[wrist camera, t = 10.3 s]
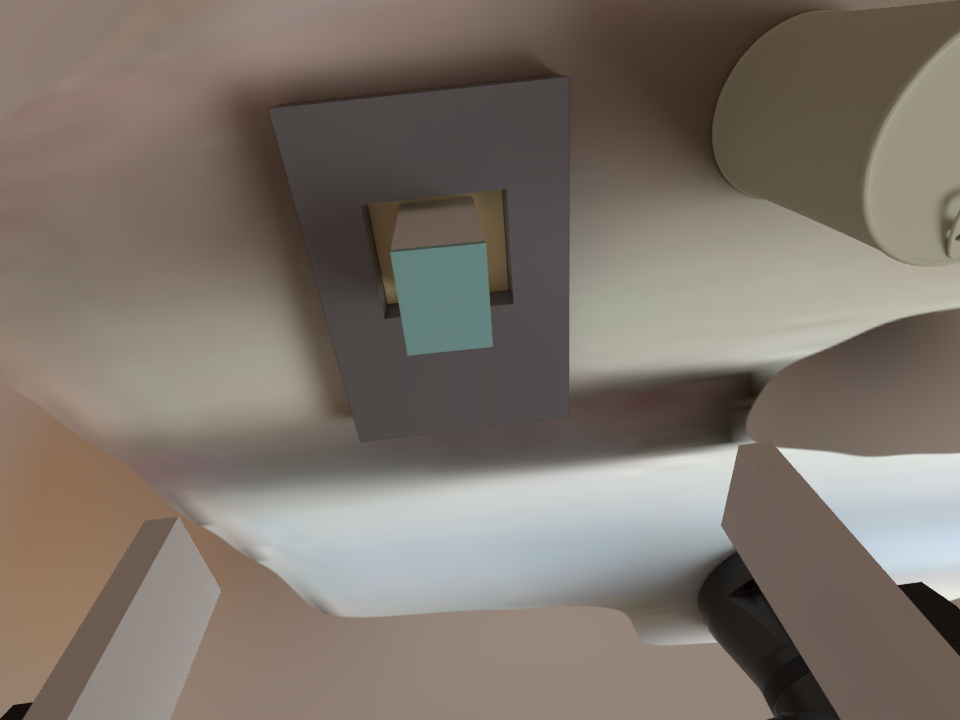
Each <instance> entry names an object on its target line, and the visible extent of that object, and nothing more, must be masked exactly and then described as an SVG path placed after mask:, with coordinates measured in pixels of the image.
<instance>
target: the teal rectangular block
mask: <svg viewBox="0 0 960 720" xmlns="http://www.w3.org/2000/svg"><path fill="white" fill-rule="evenodd" d="M390 255H391V260H392V266H393V272H394V278H395V284H396V290H397V296H398V302H399V308H400V314H401V319H402V325H403V331H404V337H405V343H406V349H407V355H408V356H409V355H419V354H428V353H438V352H448V351H457V350H467V349H477V348H486V347H493V340H492V325H491V310H490V295H489V280H488V266H487V251H486V241H485V238H484V235H483V231H482V228H481V224H480V221H479V217H478V214H477V210H476V207H475V204H474V200H473V197H467V198H456V199H446V200H435V201H424V202H414V203H403V204H400V207H399V211H398V216H397V221H396V226H395V231H394V236H393V241H392V246H391V251H390Z"/></svg>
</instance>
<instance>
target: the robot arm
mask: <svg viewBox="0 0 960 720" xmlns="http://www.w3.org/2000/svg"><path fill="white" fill-rule="evenodd" d="M721 526H722V528H723V529H724V531H725V532H726V534H727V536H728V537H729V539H730V541H731V542H732V544H733V545H734V547H735V549H736V550H737V552H738V553H737V554H736V555H734V556H732V557H731V558H729V559H728V560H727V561H725V562H724V563H723V564H722V565H720V566H719V567H718V568H717V569H716V570H715V571H714V572H713V573H712V574H711V575H710V576H709V578H708V579H707V580H706V582H705V583H704V585H703V587H702V589H701V591H700V594H699V599H698V605H699V610H700V612H701V614H702V617H703V619H704V621H705V623H706V625H707V627H708V629H709V631H710V632H711V634H712V635H713V637H714V638H715V639H716V641H717V642H718V643H719V644H720V645H721V646H722V647H723V648H724V649H725V650H726V652H727V653H728V654H729V655H730V656H731V657H732V658H733V659H734V661H735V662H736V663H737V664H739V666H740V667H741V668H742V669H743V671H744V672H745V673H746V674H747V675H748V676H749V677H750V678H751V679H752V681H753V682H754V683H755V684H756V685H757V686H758V687H759V689H760V690H761V692H762V694H763V696H764V697H765V699H766V702H767V703H768V705H769V707H770V709H771V711H772V713H773V715H774V718H771V719H768V720H960V609H959V608H958V607H957V606H956V605H954V604H953V603H951V602H950V601H948V600H947V599H945V598H944V597H943V596H941V595H940V594H938V593H937V592H935V591H934V590H932V589H931V588H929V587H928V586H927V585H925V584H924V583H922V582H918V583H910V584H903V585H897V584H896V583H895V582H894V581H893V580H892V579H891V578H890V576H889V575H888V574H887V573H886V572H885V571H884V570H883V568H882V567H881V566H880V565H879V564H878V563H877V562H876V561H875V559H874V558H873V557H872V556H871V555H870V554H869V553H868V551H867V550H866V549H865V548H864V547H863V546H862V545H861V543H860V542H859V541H858V540H857V539H856V538H855V537H854V535H853V534H852V533H851V532H850V531H849V530H848V529H847V527H846V526H845V525H844V524H843V523H842V522H841V521H840V520H839V518H838V517H837V516H836V515H835V514H834V513H833V512H832V510H831V509H830V508H829V507H828V506H827V505H826V504H825V502H824V501H823V500H822V499H821V498H820V497H819V496H818V494H817V493H816V492H815V491H814V490H813V489H812V488H811V487H810V485H809V484H808V483H807V482H806V481H805V480H804V479H803V477H802V476H801V475H800V474H799V473H798V472H797V471H796V469H795V468H794V467H793V466H792V465H791V464H790V463H789V461H788V460H787V459H786V458H785V457H784V456H783V455H782V453H781V452H780V451H779V450H778V449H777V448H776V447H775V446H774V444H773V443H772V442H771V441H769V442H761V443H753V444H745V445H739V447H738V452H737V456H736V461H735V465H734V470H733V474H732V479H731V483H730V488H729V492H728V497H727V501H726V506H725V510H724V515H723V519H722V524H721ZM220 592H221V590H220V588H219V586H218V584H217V583H216V581H215V579H214V577H213V576H212V574H211V572H210V571H209V569H208V567H207V565H206V564H205V562H204V560H203V559H202V557H201V555H200V553H199V552H198V550H197V548H196V546H195V544H194V543H193V541H192V539H191V537H190V536H189V534H188V532H187V530H186V529H185V527H184V525H183V523H182V522H181V520H180V518H179V517H172V518H163V519H155V520H147V521H145V522H144V523H143V525H142V527H141V528H140V530H139V531H138V533H137V535H136V536H135V538H134V540H133V541H132V543H131V544H130V546H129V548H128V549H127V551H126V553H125V554H124V556H123V558H122V559H121V561H120V562H119V564H118V565H117V567H116V569H115V571H114V572H113V574H112V575H111V577H110V578H109V580H108V582H107V583H106V585H105V587H104V588H103V590H102V591H101V593H100V595H99V597H98V598H97V600H96V601H95V603H94V604H93V606H92V608H91V609H90V611H89V613H88V614H87V616H86V618H85V619H84V621H83V623H82V624H81V626H80V627H79V629H78V630H77V632H76V634H75V635H74V637H73V639H72V640H71V642H70V643H69V645H68V647H67V649H66V650H65V652H64V653H63V655H62V657H61V658H60V660H59V661H58V663H57V665H56V666H55V668H54V670H53V671H52V673H51V674H50V676H49V678H48V679H47V681H46V683H45V684H44V686H43V687H42V689H41V690H40V692H39V694H38V695H37V697H36V699H35V700H34V702H32V703H25V704H17V705H13V706H12V707H11V708H10V709H9V710H8V711H7V712H6V713H5V714H4V715H3V717H1V719H0V720H170V719H171V716H172V714H173V712H174V709H175V706H176V704H177V701H178V699H179V696H180V694H181V691H182V689H183V686H184V684H185V681H186V678H187V676H188V673H189V671H190V668H191V666H192V663H193V661H194V658H195V656H196V653H197V651H198V648H199V645H200V643H201V640H202V638H203V635H204V633H205V630H206V628H207V625H208V622H209V620H210V618H211V615H212V612H213V610H214V607H215V605H216V602H217V600H218V597H219V595H220Z"/></svg>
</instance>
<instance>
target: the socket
mask: <svg viewBox="0 0 960 720" xmlns="http://www.w3.org/2000/svg"><path fill="white" fill-rule="evenodd" d="M268 110H269V113H270V117H271V121H272V124H273V128H274V132H275V135H276V139H277V142H278V146H279V150H280V153H281V157H282V161H283V164H284V168H285V172H286V175H287V179H288V182H289V186H290V190H291V193H292V197H293V201H294V204H295V208H296V211H297V215H298V219H299V222H300V226H301V230H302V233H303V237H304V240H305V244H306V248H307V251H308V255H309V259H310V262H311V266H312V270H313V273H314V277H315V280H316V284H317V288H318V291H319V295H320V299H321V302H322V306H323V309H324V313H325V317H326V320H327V324H328V328H329V331H330V335H331V338H332V342H333V346H334V349H335V353H336V357H337V360H338V364H339V368H340V371H341V375H342V378H343V382H344V386H345V389H346V393H347V397H348V400H349V404H350V407H351V411H352V415H353V418H354V422H355V426H356V429H357V433H358V436H359V440H360V442H368V441H376V440H385V439H393V438H401V437H409V436H417V435H425V434H433V433H442V432H450V431H458V430H466V429H474V428H482V427H490V426H499V425H507V424H515V423H523V422H531V421H539V420H547V419H555V418H564V417H569V145H570V77H568V76H562V75H552V76H542V77H533V78H523V79H514V80H505V81H495V82H486V83H476V84H467V85H458V86H448V87H439V88H429V89H420V90H411V91H401V92H392V93H383V94H373V95H364V96H354V97H345V98H336V99H326V100H317V101H307V102H298V103H289V104H281V105H278V106H275V107H272V108H269V109H268ZM467 197H473V200H474V204H475V207H476V210H477V214H478V217H479V221H480V224H481V228H482V231H483V235H484V238H485V241H486V251H487V266H488V280H489V295H490V310H491V325H492V340H493V347H486V348H477V349H467V350H457V351H448V352H438V353H428V354H419V355H409V356H408V355H407V349H406V343H405V337H404V331H403V325H402V319H401V314H400V308H399V302H398V296H397V290H396V284H395V278H394V272H393V266H392V260H391V255H390V251H391V246H392V241H393V236H394V231H395V226H396V221H397V216H398V211H399V207H400V204H403V203H414V202H424V201H435V200H446V199H456V198H467Z"/></svg>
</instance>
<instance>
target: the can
mask: <svg viewBox="0 0 960 720" xmlns="http://www.w3.org/2000/svg"><path fill="white" fill-rule="evenodd" d="M712 146H713V152H714V156H715V159H716V162H717V165H718V167H719V169H720V171H721V173H722V174H723V176H724V177H725V179H726V180H727V181H728V182H729V183H730V184H731V185H732V186H733V187H734V188H736V189H737V190H738V191H740V192H742V193H744V194H746V195H748V196H751V197H754V198H758V199H765V200H768V201H770V202H773V203H775V204H777V205H780V206H782V207H785V208H787V209H789V210H792V211H794V212H796V213H799V214H801V215H803V216H806V217H808V218H810V219H812V220H815V221H817V222H819V223H821V224H824V225H826V226H828V227H830V228H833V229H835V230H837V231H839V232H842V233H844V234H846V235H848V236H850V237H852V238H855V239H857V240H859V241H861V242H863V243H865V244H868V245H870V246H872V247H874V248H876V249H878V250H880V251H882V252H883V253H884V254H886V255H887V256H889V257H891V258H893V259H895V260H897V261H900V262H903V263H906V264H911V265H917V266H944V265H951V264H956V263H960V0H957V1H948V2H939V3H929V4H920V5H911V6H901V7H891V8H880V9H868V10H857V11H845V12H842V11H838V10H815V11H810V12H806V13H802V14H799V15H796V16H794V17H792V18H789V19H787V20H785V21H783V22H782V23H780V24H778V25H776V26H775V27H773V28H772V29H771V30H769V31H768V32H766V33H765V34H764V35H763V36H761V37H760V38H759V39H758V40H757V41H756V42H755V43H754V44H753V45H752V46H751V47H750V48H749V49H748V50H747V51H746V52H745V53H744V55H743V56H742V57H741V58H740V59H739V61H738V62H737V64H736V65H735V66H734V68H733V70H732V71H731V73H730V75H729V76H728V78H727V80H726V82H725V84H724V86H723V88H722V91H721V93H720V95H719V98H718V101H717V105H716V108H715V112H714V117H713V125H712Z"/></svg>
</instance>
